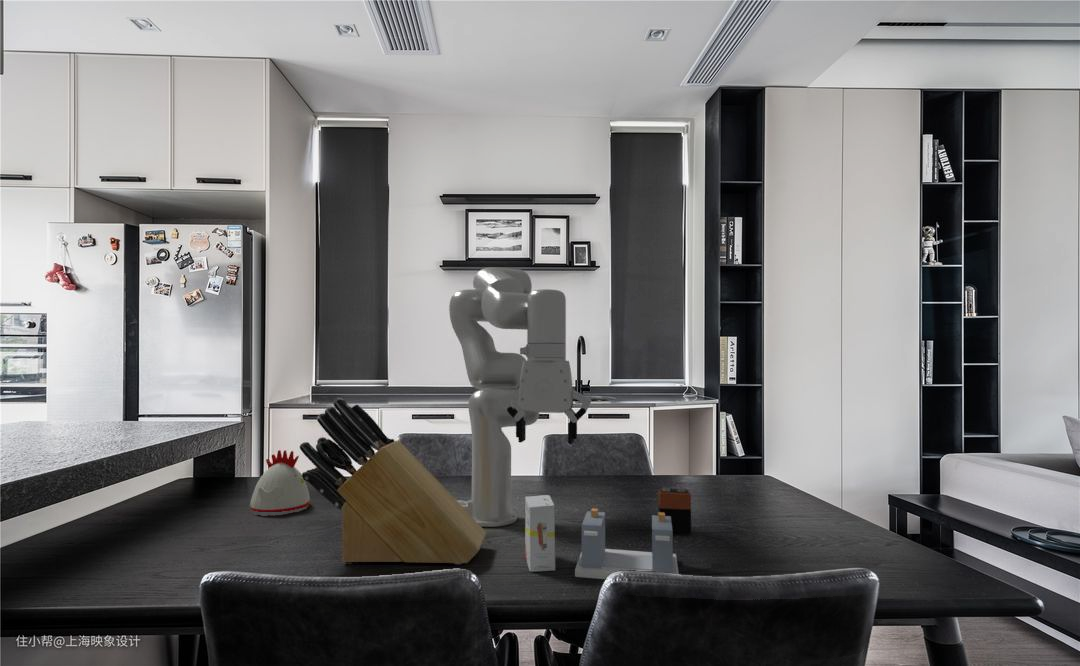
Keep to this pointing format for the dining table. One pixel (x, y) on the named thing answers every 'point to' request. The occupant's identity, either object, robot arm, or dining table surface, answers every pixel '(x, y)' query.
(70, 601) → the dining table surface
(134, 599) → the dining table surface
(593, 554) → the board
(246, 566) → the dining table surface
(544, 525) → the ink box
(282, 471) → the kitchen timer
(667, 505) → the battery
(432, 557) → the knife block
